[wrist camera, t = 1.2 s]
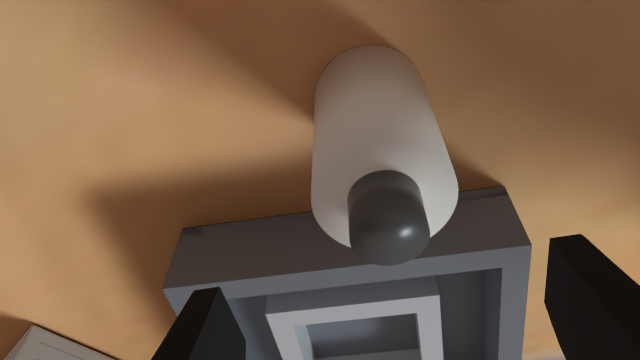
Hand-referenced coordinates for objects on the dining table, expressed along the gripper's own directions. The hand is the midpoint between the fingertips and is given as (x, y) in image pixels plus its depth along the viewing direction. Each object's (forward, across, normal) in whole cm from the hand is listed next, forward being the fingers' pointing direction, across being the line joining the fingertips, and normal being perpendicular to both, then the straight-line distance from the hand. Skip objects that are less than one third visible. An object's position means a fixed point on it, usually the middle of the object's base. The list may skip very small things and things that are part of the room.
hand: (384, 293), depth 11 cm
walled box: (+9, +2, +12) cm, 15 cm away
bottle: (+9, 0, 0) cm, 9 cm away
